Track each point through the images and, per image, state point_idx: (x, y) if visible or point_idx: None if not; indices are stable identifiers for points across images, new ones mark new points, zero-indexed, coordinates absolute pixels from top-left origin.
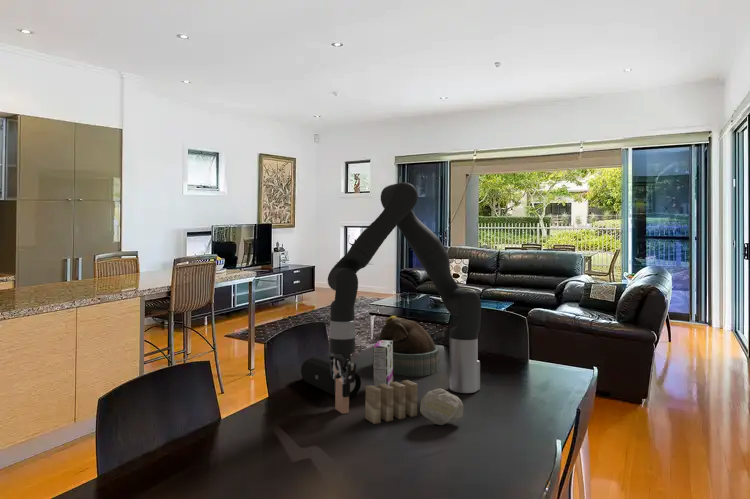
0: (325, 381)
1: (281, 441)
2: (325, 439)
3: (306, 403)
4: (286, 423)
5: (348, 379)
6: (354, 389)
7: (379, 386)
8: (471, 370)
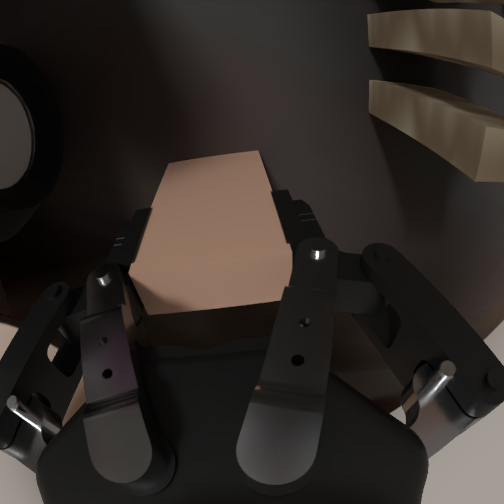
0: None
1: (371, 352)
2: None
3: (83, 278)
4: None
5: (385, 306)
6: (11, 79)
7: (496, 70)
8: None
